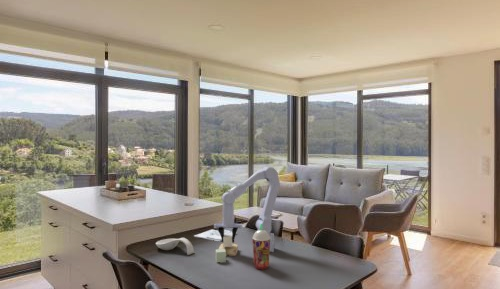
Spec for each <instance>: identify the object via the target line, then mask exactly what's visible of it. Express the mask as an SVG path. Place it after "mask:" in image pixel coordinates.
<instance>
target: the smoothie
mask: <svg viewBox="0 0 500 289" xmlns="http://www.w3.org/2000/svg"><path fill="white" fill-rule="evenodd" d="M257 230H258V229H257ZM257 230H256V231H255V232H254V233H253V235H252V238H251V240H252V251H253V252H252V253H253V265H254V267H255V269H257V270H265V269H267V268H268V266H270V265H269V264H270V253H271V252H270V239H271V238H270V236H269V234H268V232H267V231H265V230H262V224H261V230H258V231H257Z"/></svg>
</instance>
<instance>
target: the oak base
mask: <svg viewBox="0 0 500 289" xmlns="http://www.w3.org/2000/svg"><path fill="white" fill-rule="evenodd" d="M218 249H225V251H226V256H227V255H229V256H233V257H235V256H236V257H237V254H238V250H239V245H238V243H237V244H236V243H233V246H232V247H223V243H221V244H220V245H219V247H218ZM229 256H228V257H229Z"/></svg>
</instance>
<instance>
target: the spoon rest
mask: <svg viewBox="0 0 500 289" xmlns="http://www.w3.org/2000/svg"><path fill="white" fill-rule="evenodd" d="M180 242H181V243H183V244H184V245H185V246H186V255H188V256H189V255H192V254H195V249H194V246H193V244H192V242H191V241H190V240H189V239H187V238H185V237H180V238H166V239H165V238H164V239H161V240H157V241H156V242H155V245H156V247H158V248H159V249H160V250H163V251H170V250H173V249H174V248H176V247H177V245H178V244H179V243H180Z"/></svg>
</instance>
